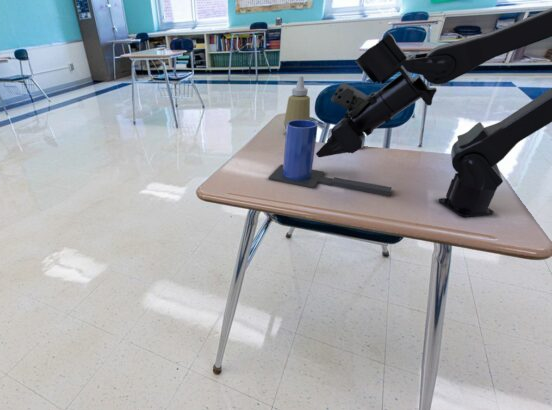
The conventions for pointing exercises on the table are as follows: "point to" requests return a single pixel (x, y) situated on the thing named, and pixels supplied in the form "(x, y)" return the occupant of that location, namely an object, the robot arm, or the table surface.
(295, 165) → the cup
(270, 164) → the table surface
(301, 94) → the squeeze bottle
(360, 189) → the spatula
